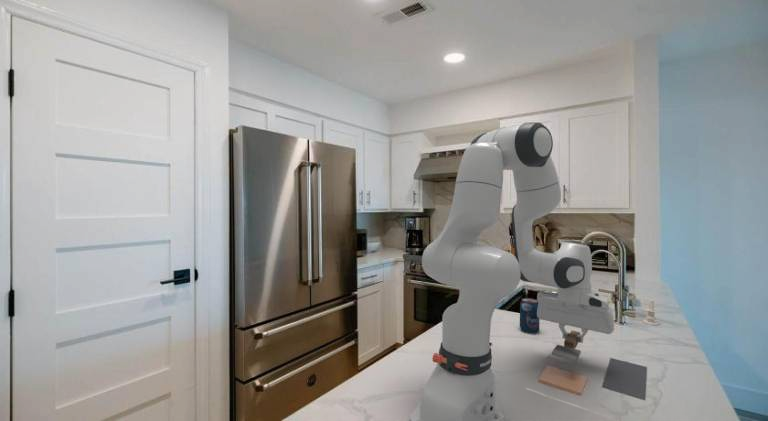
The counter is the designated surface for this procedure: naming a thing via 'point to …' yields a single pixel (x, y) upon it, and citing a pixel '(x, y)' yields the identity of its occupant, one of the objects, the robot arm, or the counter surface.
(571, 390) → the tile
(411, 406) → the counter surface
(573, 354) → the grey panel with knob
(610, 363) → the mat
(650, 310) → the chess piece
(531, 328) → the soda can
